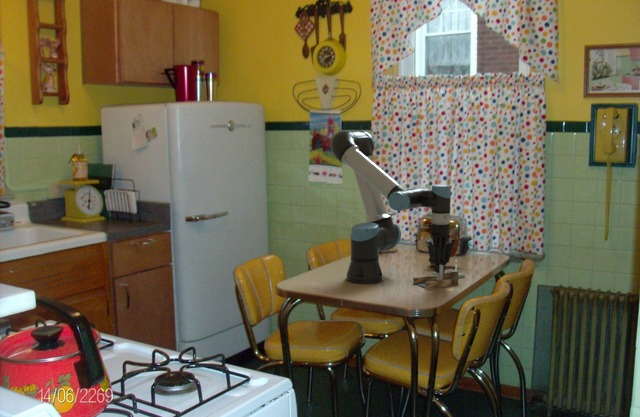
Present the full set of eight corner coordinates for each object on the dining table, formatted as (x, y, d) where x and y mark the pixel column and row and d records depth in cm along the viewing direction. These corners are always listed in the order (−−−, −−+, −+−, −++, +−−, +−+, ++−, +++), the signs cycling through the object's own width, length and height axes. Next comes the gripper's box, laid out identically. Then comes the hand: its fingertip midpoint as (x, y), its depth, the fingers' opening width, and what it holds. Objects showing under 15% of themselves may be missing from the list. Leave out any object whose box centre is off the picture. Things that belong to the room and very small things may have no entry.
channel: (426, 288, 257) (426, 282, 257) (413, 283, 266) (413, 277, 266) (451, 285, 262) (451, 279, 262) (437, 280, 271) (437, 274, 271)
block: (443, 285, 264) (444, 273, 263) (436, 282, 268) (437, 270, 267) (458, 283, 266) (458, 271, 266) (451, 280, 271) (451, 269, 270)
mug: (432, 268, 294) (433, 235, 292) (424, 264, 302) (425, 232, 300) (461, 266, 298) (462, 234, 296) (453, 263, 305) (454, 231, 304)
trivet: (445, 279, 273) (445, 276, 273) (431, 274, 282) (431, 271, 282) (464, 277, 277) (464, 274, 277) (450, 272, 286) (450, 269, 286)
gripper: (432, 225, 256) (431, 283, 259) (459, 223, 261) (458, 280, 264) (421, 222, 263) (421, 279, 266) (448, 220, 268) (447, 276, 271)
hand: (439, 280), depth 265 cm, fingers closed
